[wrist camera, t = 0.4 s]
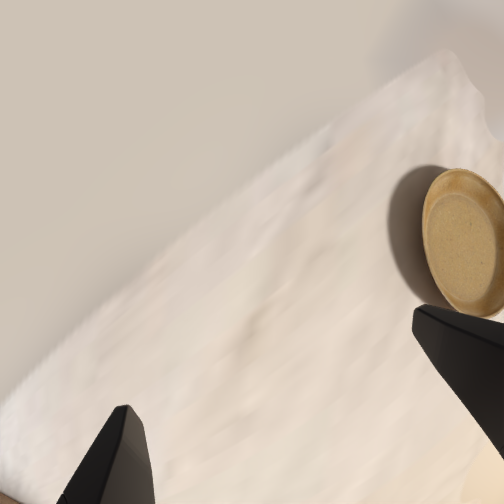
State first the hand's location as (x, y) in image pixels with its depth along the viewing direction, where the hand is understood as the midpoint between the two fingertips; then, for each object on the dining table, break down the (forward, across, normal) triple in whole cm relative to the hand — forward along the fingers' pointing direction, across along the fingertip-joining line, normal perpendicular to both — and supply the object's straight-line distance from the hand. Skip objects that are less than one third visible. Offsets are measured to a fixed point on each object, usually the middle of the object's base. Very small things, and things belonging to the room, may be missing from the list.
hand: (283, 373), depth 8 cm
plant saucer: (+13, -23, +8) cm, 28 cm away
